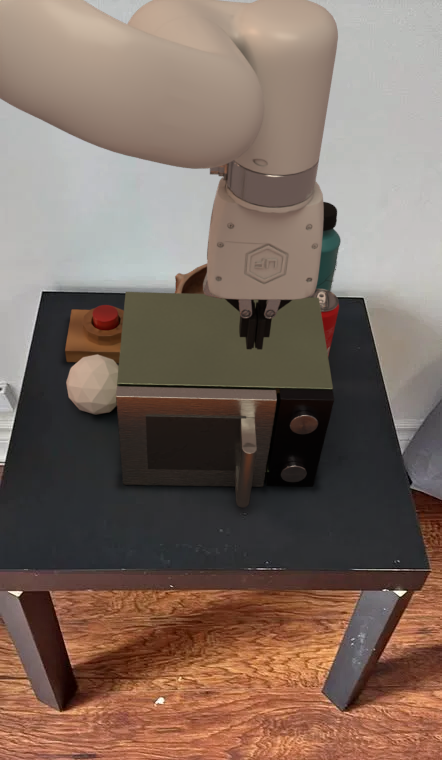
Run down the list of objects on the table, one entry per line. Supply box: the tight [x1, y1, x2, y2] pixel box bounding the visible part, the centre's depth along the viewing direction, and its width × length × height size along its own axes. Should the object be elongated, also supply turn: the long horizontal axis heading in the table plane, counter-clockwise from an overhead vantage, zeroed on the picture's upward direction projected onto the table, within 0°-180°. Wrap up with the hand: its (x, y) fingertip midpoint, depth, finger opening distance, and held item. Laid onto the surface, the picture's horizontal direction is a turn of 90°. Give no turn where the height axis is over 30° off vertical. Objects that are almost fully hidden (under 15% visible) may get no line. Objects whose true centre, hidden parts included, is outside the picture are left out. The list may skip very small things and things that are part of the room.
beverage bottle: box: [316, 201, 342, 293], centre depth 107 cm, size 6×7×20 cm
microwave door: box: [116, 386, 277, 508], centre depth 87 cm, size 7×18×16 cm, turn 91°
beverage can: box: [312, 289, 340, 357], centre depth 104 cm, size 5×5×12 cm
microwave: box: [117, 291, 335, 487], centre depth 93 cm, size 18×24×16 cm
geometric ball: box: [65, 354, 119, 415], centre depth 99 cm, size 8×8×8 cm
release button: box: [92, 304, 119, 330], centre depth 106 cm, size 4×4×2 cm
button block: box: [64, 306, 124, 364], centre depth 108 cm, size 9×11×4 cm
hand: (253, 340), depth 77 cm, fingers closed
